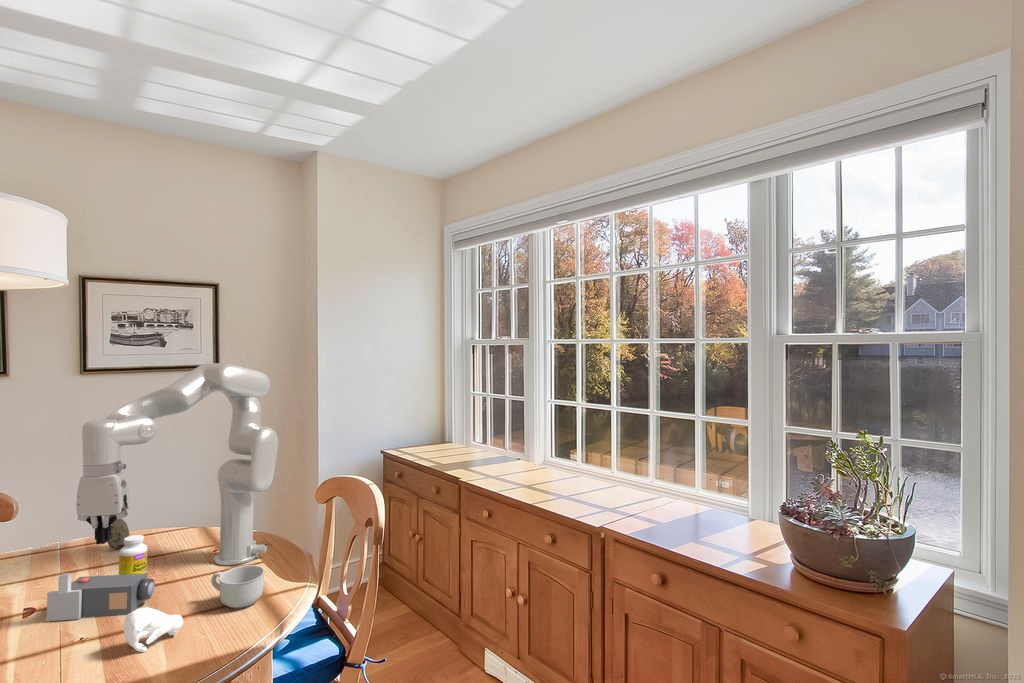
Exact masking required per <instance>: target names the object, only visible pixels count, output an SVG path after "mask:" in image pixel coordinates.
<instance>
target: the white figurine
mask: <svg viewBox="0 0 1024 683" xmlns="http://www.w3.org/2000/svg"><path fill="white" fill-rule="evenodd" d="M183 625H184V619H183V617H182V615H180V614H167V613H165V612H163V611H160V610H158V609H155V608H152V607H142V608H141V607H139V608H137V609H136V610H135V611H133V612H131V613H129V614H126V616H125V618H124V622H123V624H122V628H123V632H124V633H123V634H124V638H125V641H126V643H127V644H129V645H128V646H131V647H132V648H134V650H135V651H137V652H140V653H146V652H147V651H148V648H147V646H146V645H150V644H152V643H153V642H155V641H156V640H157V639H158V638H159V637H161V636H163V635H165V634H166V633H168V636H170V637H171V636H173V637H175V636H176V635H177V633H178V632H179V630H180V629H181V628H182V627H183ZM143 637H147V639H146V641H145V644H146V645H145V644H143V643H140V642H139V641H140V639H142V638H143Z"/></svg>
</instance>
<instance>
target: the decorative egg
mask: <svg viewBox="0 0 1024 683" xmlns="http://www.w3.org/2000/svg"><path fill="white" fill-rule="evenodd" d="M111 527H112V536H111V538H110V540H109V541H108V542H107V544H108V545H107V546H109V548H110V549H113V550H121V549H122V548H123V547H125V544H124V539H125V538H126V537H129V536H131V535H130V530H129V527H128V525H127V522H126V521H125V520H124V518H122V519H118V520H116V521H115V522H114V523H113V524H112V525H111Z"/></svg>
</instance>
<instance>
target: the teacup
mask: <svg viewBox="0 0 1024 683" xmlns="http://www.w3.org/2000/svg"><path fill="white" fill-rule="evenodd" d="M217 577H218V580H217ZM218 581H219V582H218ZM210 582H211V585H212V587H213V588H215V590H217V591H218V592H219V598H220V601H221V603H222V604H223V605H225V606H227V607H228V608H230V609H244V608H246V607H249V606H251V605H253V604H254V603H256V601H257V600H259V599H260V598H261V596H262V594H263V592H264V584H265V569H264V567H263V566H261V565H257V564H255V565H254V564H246V565H240V566H236V567H233V568H229V569H228V570H225V571H224V572H223V571H217V572H215V573H214V574H213V575H212V576H211V581H210Z"/></svg>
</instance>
